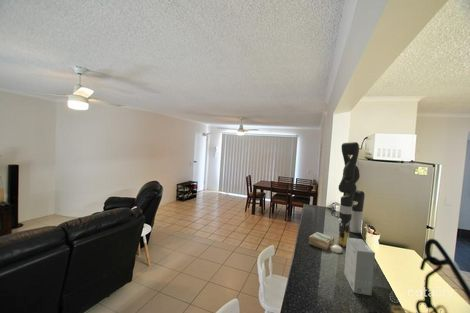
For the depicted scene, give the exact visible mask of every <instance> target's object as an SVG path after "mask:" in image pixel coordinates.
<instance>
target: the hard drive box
mask: <svg viewBox="0 0 470 313" xmlns="http://www.w3.org/2000/svg"><path fill="white" fill-rule="evenodd" d="M375 255H376V253H375V251H373V249H372V248H371V247H370V246H369V245H368V244H367V242H365V241H364V240H363V239H362V238H354V237H349V238H347V243H346V247H345V256H344V257H345V258H344V272H343V275H344V277H345V278H346V280H347V282H348V284H349V286H350V288H351V290H352V292H353V293H354V294H359V295H360V294H361V295H365V296H372V294H373V281H374V280H373V279H374V270H375V269H374V268H375V257H376V256H375Z"/></svg>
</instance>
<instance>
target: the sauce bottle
mask: <svg viewBox="0 0 470 313" xmlns="http://www.w3.org/2000/svg"><path fill="white" fill-rule="evenodd" d="M346 223H348V224H349V220H346ZM348 224H347V226H346V229H345V232H344V238H342V237H340V233H341V232H340V231H339V230H338V241H337V242H338V244H337V245H338V246H340V247H342V248H346V243H347V238H350V232H351V231H350V227H349V225H348ZM344 228H345V227H344Z"/></svg>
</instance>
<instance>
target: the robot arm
mask: <svg viewBox="0 0 470 313" xmlns="http://www.w3.org/2000/svg"><path fill="white" fill-rule="evenodd" d="M341 153H342V158H343V162H344V167H343V170H342V171H343V172H342V178H341V181H340V182H339V185H338V191H339V192H340V193H344V194H347V195H343V196H341V197H340V206H339V211H338V213H339V214H338V218H339V219H341V221H340V222H339V224H338V225H339V227H338V229H339V230H338V232H339V231H340V232H341V233H340V237H342V238H344V232H345V229H346V226H347V224H348V223H346V220H349V224H348V225H349V227H350V232H351V233H354V234H361V233H362V227H363V226H362V225H363V223H362V222H363V210H364V203H365V196H366V194H365V192H364V191H363V190H358V189H357V185H356V184H357V182H358V181H359V179H360V177H361V176H360V169H359V167H358V166H357V162H358V157H359V153H360V145H359V143H358V142H355V141H353V142H343V143H342V144H341ZM350 156H351V158H350ZM353 202H355V203H356V204H353ZM344 227H345V228H344Z"/></svg>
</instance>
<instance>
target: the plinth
mask: <svg viewBox="0 0 470 313" xmlns="http://www.w3.org/2000/svg"><path fill="white" fill-rule="evenodd" d="M334 237H335V236H330V235H328V234H325V233H321V232H318V231H316V232H315V233H313V234H311V235H310V236H309V237H308V244H309V245H312V246H314V247H316V248H320V249H322V250H323V251H328V250H330V245H332V244H334V242H335V238H334ZM334 245H335V244H334Z"/></svg>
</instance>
